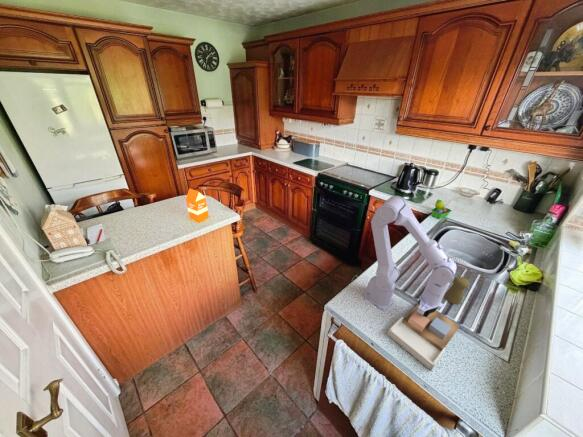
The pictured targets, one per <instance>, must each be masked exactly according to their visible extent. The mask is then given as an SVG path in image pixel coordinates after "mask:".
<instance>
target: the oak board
mask: <svg viewBox="0 0 583 437" xmlns="http://www.w3.org/2000/svg"><path fill="white" fill-rule="evenodd" d="M418 307H419V304H416V306H415V307H414V308H412V310H411V311H409V312H408V313H407V315H405V317H404V318H403V321H402V322H403V323H404V324H405V325H407V326H408V327H409V328H411V329H412V330H413V331H415V332H416V333H417V334H419V335H420V336H421V337H423V338H424V339H425V340H426V341H428V342H429V343H430V344H432V345H433V346H434V347H436V348H437V349H438V350H440V351H442V350H443V348H446V347H447V345H448V344H449V342H450V341H451V340H452V338H453V337H454V335H455V334H456V333H457V331H458V330H459V329H460V325H459V324H458V323H456V322H455V321H453V320H452V319H450V318H448V317H447V316H445V315H444V314H442V313H440V312H439V311H438V310H436V311H435V312H433V313H430V314H429V315H428V316H427V317H426V318H428V319H429V320H430V321H429V323H428V325H427V326H426V327H425V329H424V330H423V331H422V332H420V331H419V330H418V329H416V328H415V327H414V326H412V325H411V324H409V323H408V321H409V318H410V317H411V316H412V315H413V314H414V313H415V311H417V309H418ZM436 317H437V318H439V319H440V320H442V321H443V322H445V323H446V324H448V325H449V326H451V329H450V331H449V332H448V334H447V335H446V336H445V338H444V339H441V338H440V337H439V336H437V335H436V334H434V333H433V332H432V331H430V330H429V329H428V328H429V326H430V324H431V323H432V322H433V321H434V320H435V318H436Z"/></svg>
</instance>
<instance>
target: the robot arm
mask: <svg viewBox="0 0 583 437" xmlns="http://www.w3.org/2000/svg"><path fill="white" fill-rule="evenodd" d="M393 222H394V223H393ZM391 223H393V225H396V226H403V227H404V228H405V229H406V230H407V231H408V232H409V234H410V235H411V236H412V238H413V239H415V241H416V242H417V244H419V247H418V251H419V252H420V254H421V255H422V257H423V258H424V259H425V261H426V262H427V263H428V264H429V266H430V267H431V268H432V271H431V275H430V276H429V278H428V280H427V283H426V284H425V288H424V290H423V292H422V293H421V295H420V299H418V302H417V303H418V304H419V307H418V309H417V312H419V313H420V314H422V315H423V316H425V317H427V316H428V315H429V314H430V313H433V312H435V311H437V309H438V308H439V309H442V308H444V305H445V304H444V303H442V300H443V298H444V297H445V296H444V295H445V294H446V292H447V291H448V290H449V289H448V288H449V286H451V285H450V283H451V282H453V280H454V278H455V277H456V276H455V275H456V272H457V266H458V265H457V263H456V260H455V259H454V258H451V257H449V256H448V255H447V254H446V253H445V251H444V250H443V245H442V244H441V243H438V242H437V241H436V240H435V239H431V238H429V236H428V235H427V233H426V231H425V230H424V229H423V226H422V225H421V224H420V222H419V221H418V219H417V217H416V216H415V214H414V213H413V210H412V208H411V207H410V205H409V204H408V203H407V202H406V200H405V199H404V198H403V197H402V196H400V195H393V196H390V197H389V198H388V199H386V200H385V202H383V204H381V205H380V206H379V207H378V208H377V209H376V210H375V213H374V215H373V217H372V218H371V221H370V225H371V230H372V235H373V242H374V248H375V254H376V260H377V268H376V272H375V275H374V276H372V277H371V278H370V280H369V281H368V283H367V285H366V289H365V293H364V294H363V296H364V298H366V299H367V300H368V301H370V303H372V304H374V305H375V306H376V307H377V308H379V309H380V310H382V311H386V310H387V309H388V308H389V307H390V306H392V304H393V303H394V302H395V299H393V296H394V292H395V289H396V281H397V279H398V278H399V276H400V270H399V269H398V267H397V264H396V262H394V259H393V254H392V246H391V241H390V234H389V227H388V225H389V224H391ZM418 304H417V305H418Z"/></svg>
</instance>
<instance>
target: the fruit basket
mask: <svg viewBox="0 0 583 437" xmlns="http://www.w3.org/2000/svg"><path fill="white" fill-rule="evenodd" d="M445 206H446V205H445V203H444V201H443V200H441V199H437V200H436V201H435V204H434V207H435V208H432V209H431V217H433V218H435V219H437V218H438V219H437V220H441V219H443V217H444V218H446V217H448V216H449V214H450V213H451V212H452V209H450V208H448V207H445ZM445 216H446V217H445ZM440 218H441V219H440Z"/></svg>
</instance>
